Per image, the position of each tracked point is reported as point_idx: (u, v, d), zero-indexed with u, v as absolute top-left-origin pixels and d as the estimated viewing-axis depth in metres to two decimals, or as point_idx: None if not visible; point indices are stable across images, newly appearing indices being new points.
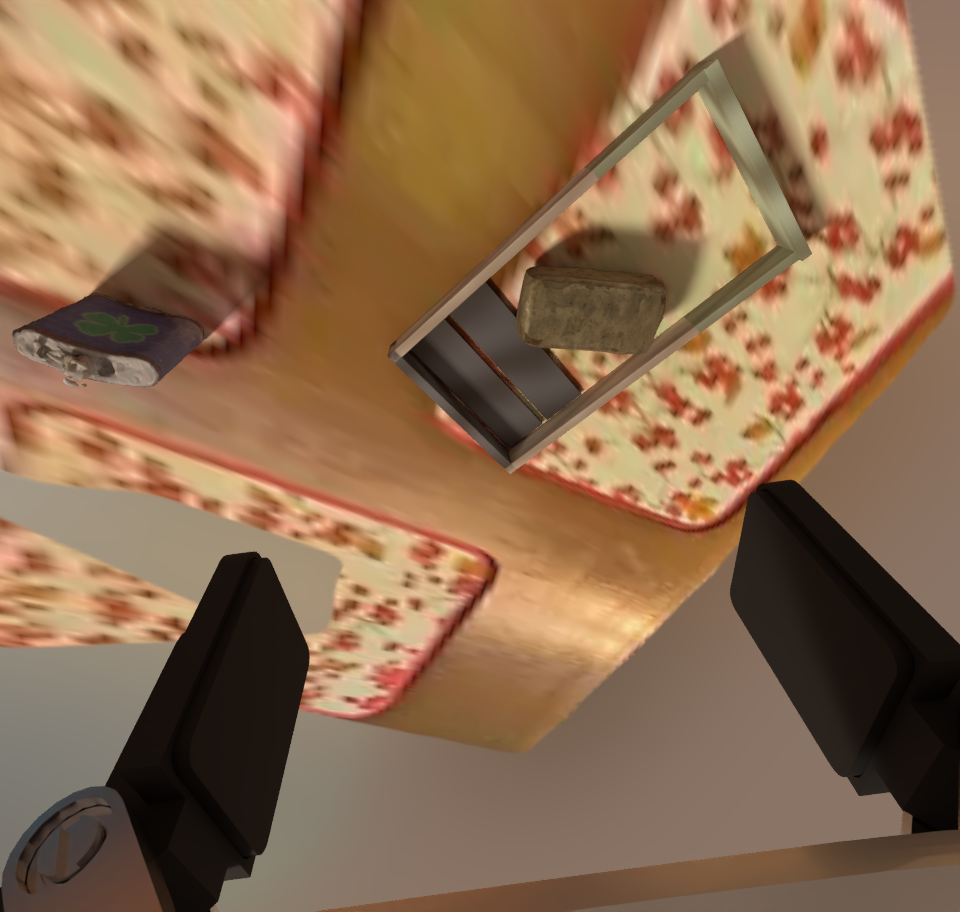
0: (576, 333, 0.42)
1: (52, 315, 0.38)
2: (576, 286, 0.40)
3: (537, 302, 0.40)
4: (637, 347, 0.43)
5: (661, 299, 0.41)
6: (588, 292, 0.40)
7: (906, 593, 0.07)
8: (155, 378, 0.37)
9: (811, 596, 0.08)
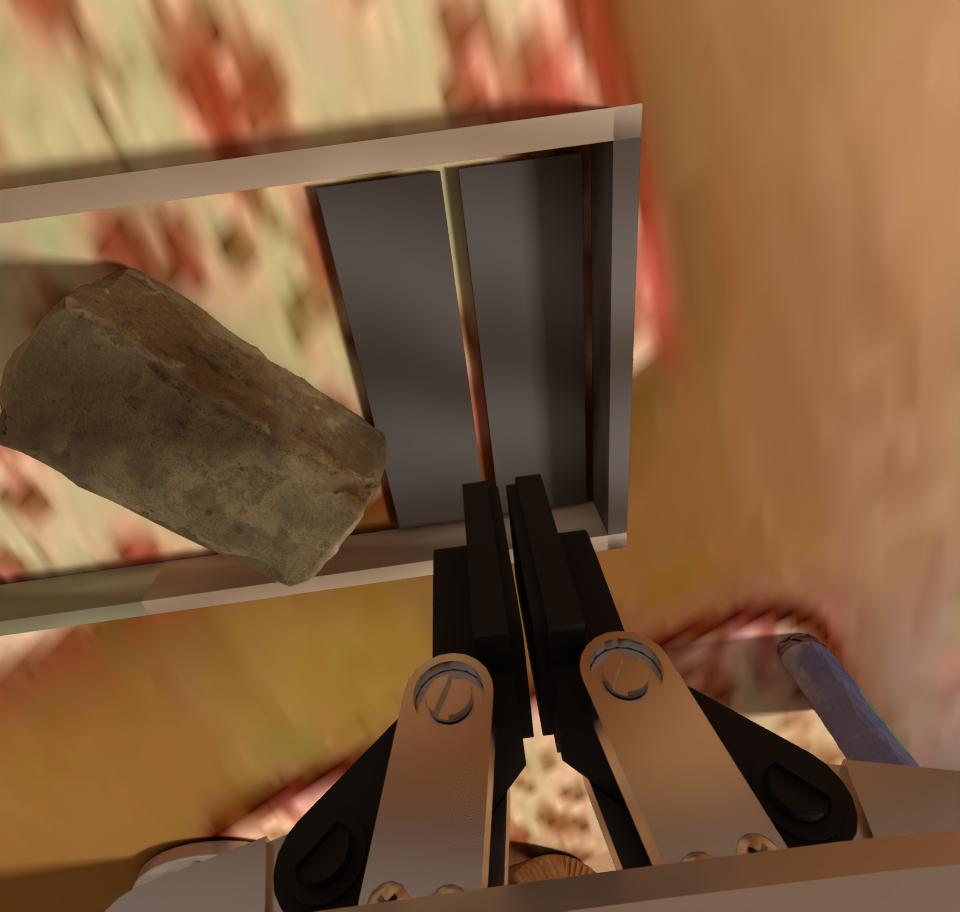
0: (249, 464, 0.17)
1: None
2: (216, 547, 0.18)
3: (309, 559, 0.19)
4: (87, 339, 0.15)
5: (5, 424, 0.16)
6: (193, 527, 0.18)
7: (566, 571, 0.08)
8: None
9: (521, 576, 0.09)
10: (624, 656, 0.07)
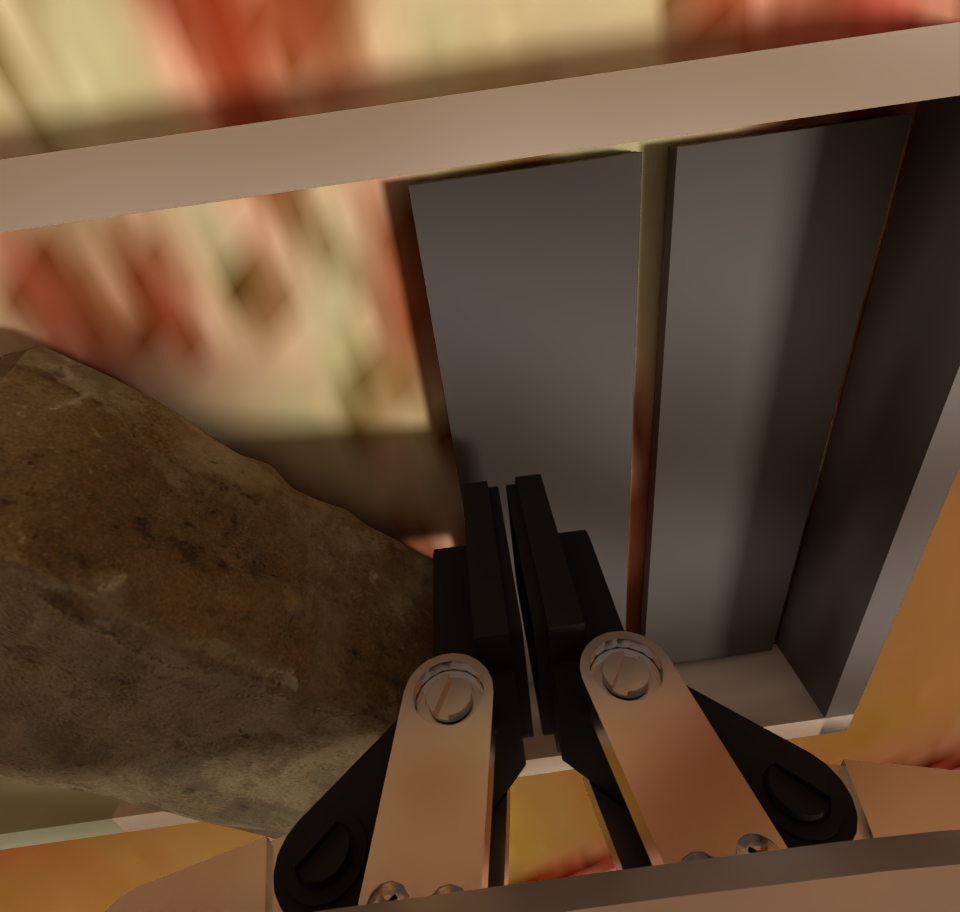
0: (260, 730, 0.09)
1: None
2: (206, 822, 0.11)
3: None
4: None
5: None
6: (164, 805, 0.10)
7: (566, 571, 0.08)
8: None
9: (521, 576, 0.09)
10: (624, 656, 0.07)
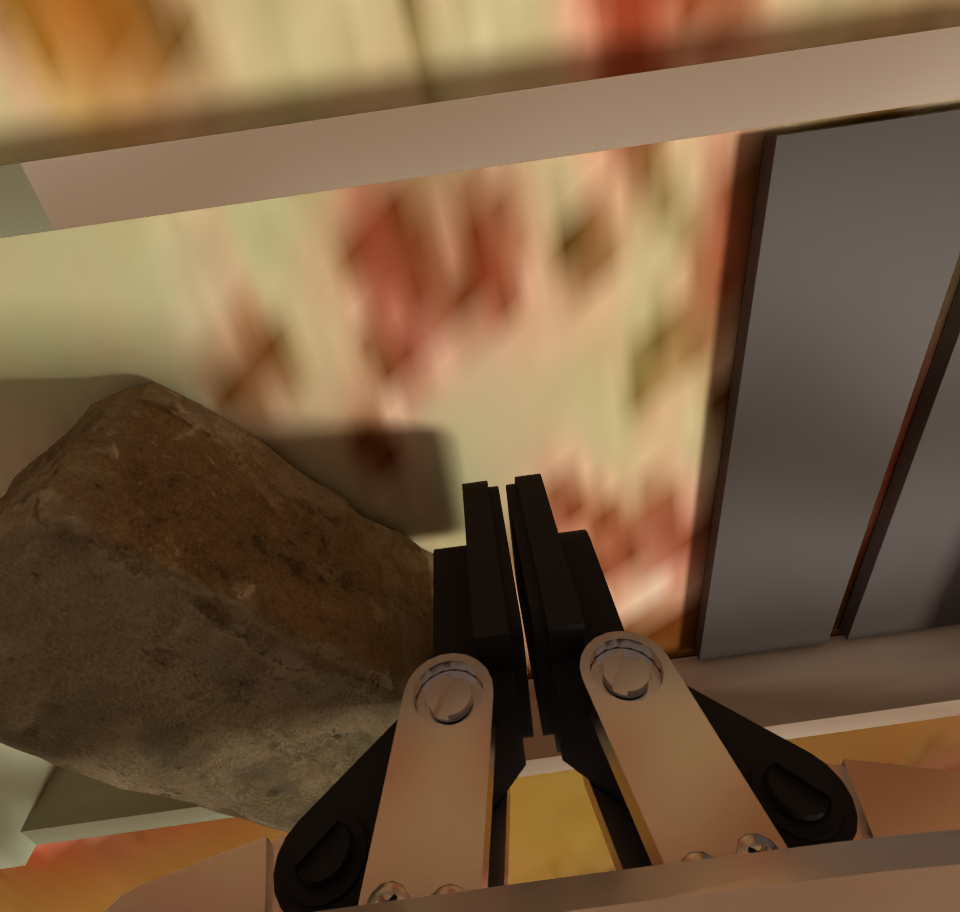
0: (351, 730, 0.10)
1: None
2: (277, 827, 0.11)
3: None
4: (81, 568, 0.08)
5: None
6: (243, 809, 0.11)
7: (566, 571, 0.08)
8: None
9: (521, 576, 0.09)
10: (624, 656, 0.07)
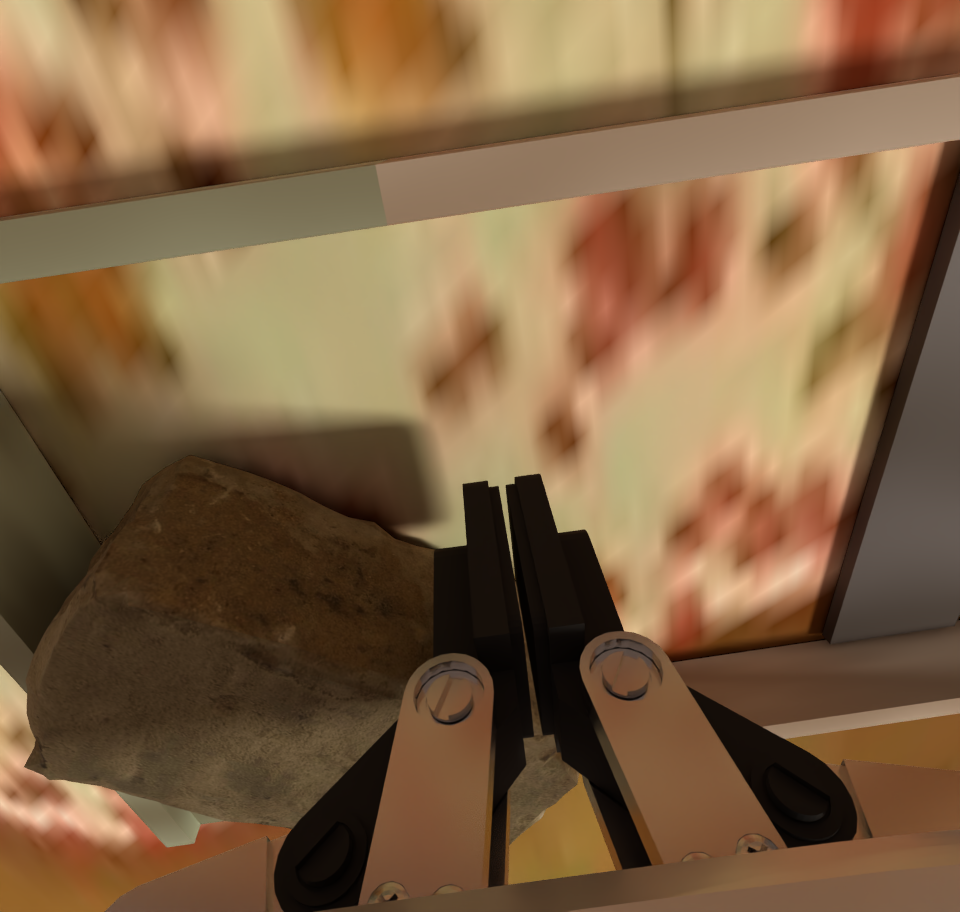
0: None
1: None
2: None
3: None
4: (140, 635, 0.09)
5: (42, 755, 0.10)
6: None
7: (565, 571, 0.08)
8: None
9: (520, 576, 0.09)
10: (624, 656, 0.07)
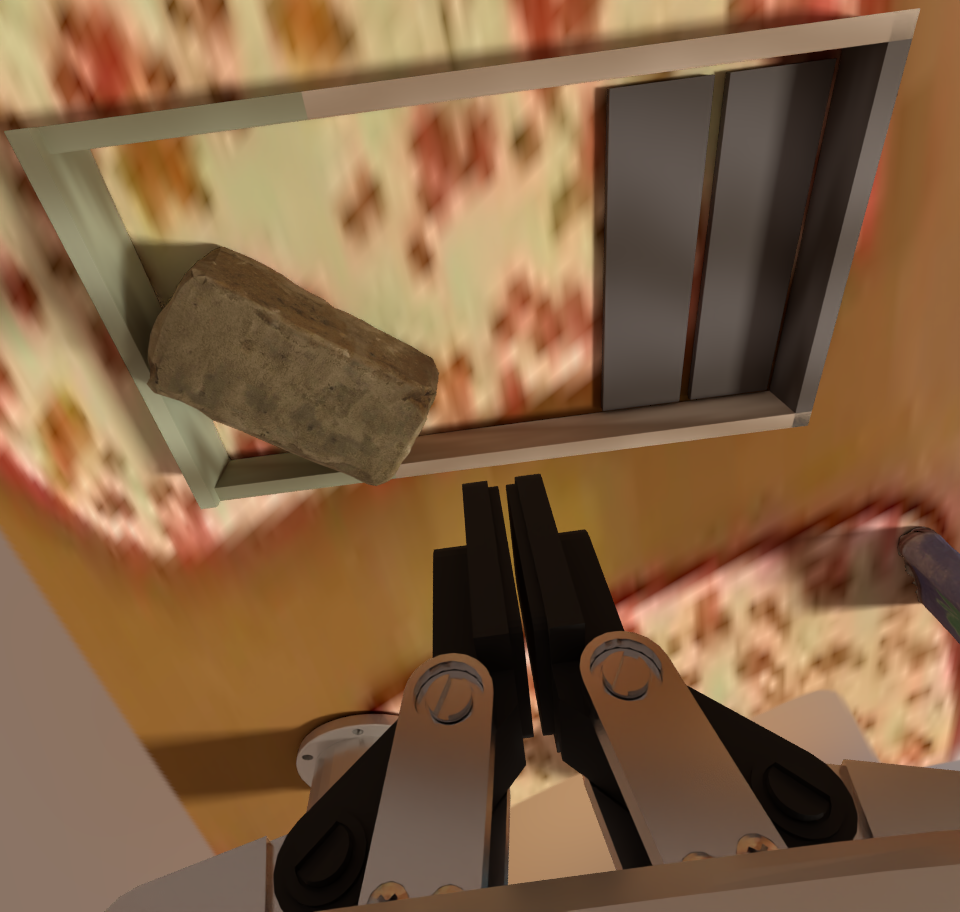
0: (337, 384, 0.22)
1: None
2: (318, 457, 0.23)
3: (389, 459, 0.24)
4: (211, 298, 0.20)
5: (156, 375, 0.21)
6: (299, 442, 0.23)
7: (566, 571, 0.08)
8: None
9: (521, 576, 0.09)
10: (624, 656, 0.07)
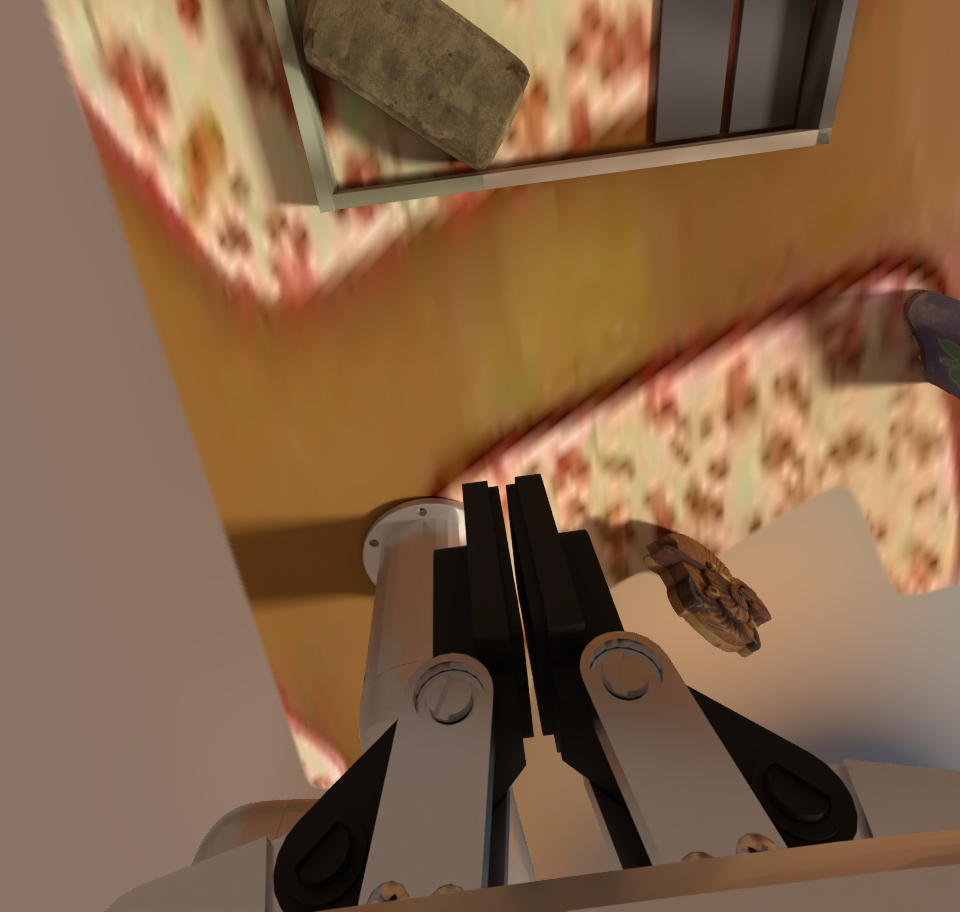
0: (454, 50, 0.27)
1: None
2: (434, 132, 0.28)
3: (491, 135, 0.29)
4: None
5: (312, 40, 0.26)
6: (420, 114, 0.28)
7: (566, 571, 0.08)
8: None
9: (521, 576, 0.09)
10: (624, 656, 0.07)
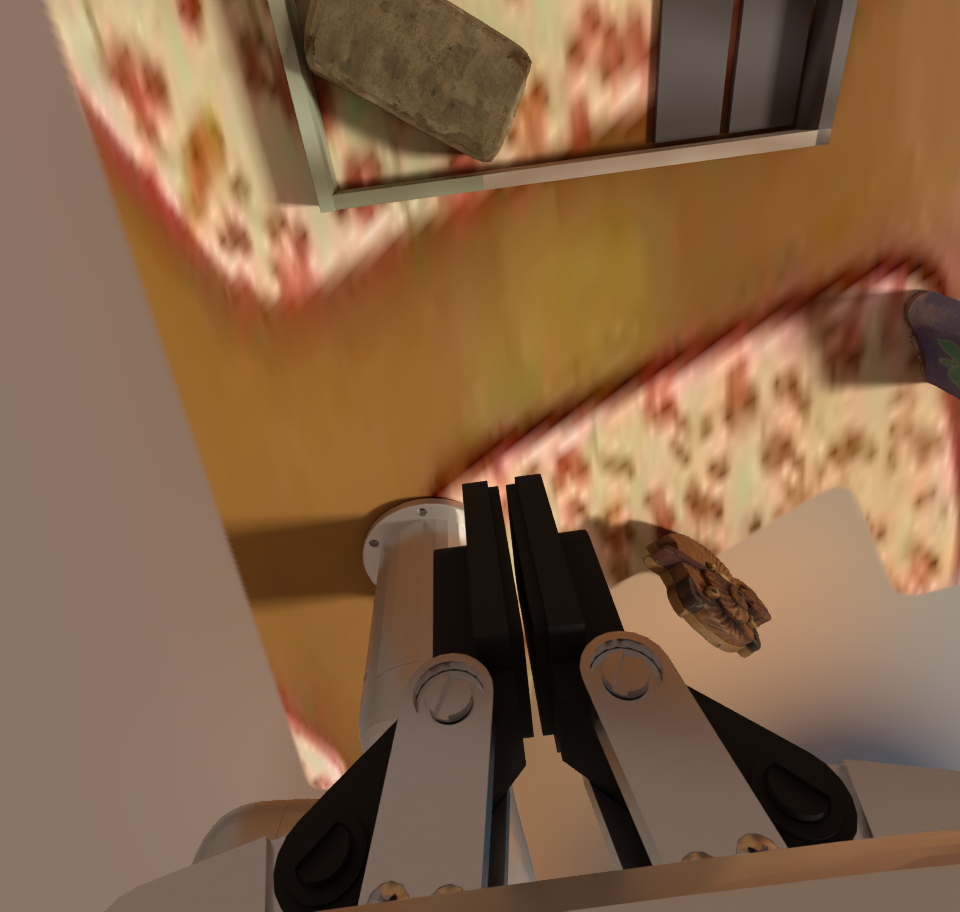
0: (454, 43, 0.27)
1: None
2: (439, 128, 0.28)
3: (497, 126, 0.29)
4: None
5: (313, 46, 0.26)
6: (424, 111, 0.28)
7: (566, 571, 0.08)
8: None
9: (521, 576, 0.09)
10: (624, 656, 0.07)
